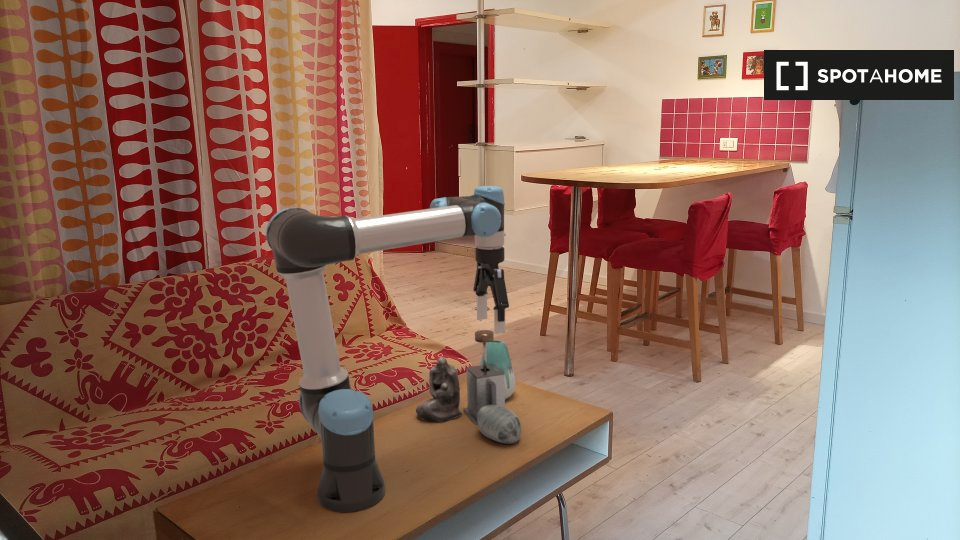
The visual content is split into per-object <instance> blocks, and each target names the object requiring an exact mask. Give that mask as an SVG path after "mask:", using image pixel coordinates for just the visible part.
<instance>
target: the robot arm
mask: <svg viewBox="0 0 960 540" xmlns="http://www.w3.org/2000/svg"><path fill="white" fill-rule="evenodd" d="M504 193H505V192H504V190H503V188H502V187H500V186H498V185H480V186H476V187H475V188H474V191H473V194H472V195H466V196H448V197H446V196H444V197H440V198H434V199H433V200H432V201H431V203H430V205H429V208H425V209H419V210H412V211H411V210H410V211H404V212H397V213H390V214H383V215H375V216H369V217H360V218H351V217H350V216H349V215H341V216H340V215H339V216H323V215H318V214H315V213H313V212H311V211H309V210H308V209H305V208H302V207H287V208H284V209H281V210H279V211H277V212H276V213H275V214H274V215H273V216H272V217H271V218H270V220H269V221H268V223H267V226H266V229H265V238H266V242H267V244H268V247H270V249H271V251H272V253H273V258H274V264H275V269H276V273H277V274H278V275H280V276H281V277H283V278H284V279H285V283H286V288H287V293H288V298H289V302H290V303H289V304H290V310H291V314H292V319H293V324H294V329H295V334H296V340H297V345H298V346H297V347H298V350H299V355H300V361H301V365H302V371H303V375H302V377H300V378H299V381H298V386H299V391H300V393H299V399H298V403H299V404H298V405H299V408H300V409H299V410H300V411H301V415H302V416H303V418H304V419H305V420H306V422H308V423H309V425H310V426H311V427H312V428H313V429H314V431H315V433H317V435H318V437H319V438H320V443H321V453H322V462H323V463H322V464H323V468H322V470H321V475H320V479H319V482H318V486H317V501H318V503H319V504H320V506H321V507H323V508H325V509H327V510H329V511H331V512H340V513H350V512H358V511H362V510H366V509H368V508H371V507H372V506H375V505H376V504H378V503H379V502H380V501H381V500H382V499H384V496H385V494H386V482H385V479H384V476H383V475H382V472H381V470H380V468H379V464H378V462H377V461H376V460H377V459H376V446H375V430H374V429H375V426H374V410H373V405H372V402H371V399H370V398H369V396H368V395H367V394H365V393H364V392H362V391H361V390H354V389H352V387H351V381H350V377H349V372H348V370H346V369H345V368H343V367H342V366H341V363H340V362H341V361H340V356H339V351H338V346H337V340H336V335H335V334H336V333H335V329H334V323H333V319H332V318H333V317H332V313H331V306H330V301H329V296H328V292H327V284H326V278H325V274H324V272H325V270H326V268H328V266H329V265H333V264H338V263H343V262H344V263H345V262H349V261H354V260H355V259H356V258H357V257H358V255H362V254H369V253H373V252H380V251H385V250H386V251H387V250H390V249H396V248H397V249H398V248H405V247H409V246H414V245H422V244H428V243H435V242H440V241H446V240H452V239H459V238H466V237H472V236H474V245H475V246H476V248H475V249H474V250H475V251H474V252H475V253H474V255H475V256H474V257H475V258H474V259H475V262H476V271H475V277H474V284H473V292H475V295H476V319H477V320H478V321H480V320H481V321H482V320H483V321H484V320H488V296H487V295H488V288H489V287H490V290H491V294H492V298H493V303H494V306H493V307H492V310H493V318H494V319H493V321H494V322H493V324H494V326H493V327H494V331H493V333H494V335H497V334H499V335H501V334H505V333H506V309H509V308H510V303H509V299H508V292H507V285H506V280H505V270H504V268H501V269H500V267H499V265H500V263H503V262H504V261H505V248H504V246H505V237H506V235H507V234H506V232H505V205H506V204H505V195H504Z"/></svg>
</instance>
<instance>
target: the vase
mask: <svg viewBox="0 0 960 540" xmlns="http://www.w3.org/2000/svg"><path fill="white" fill-rule="evenodd" d="M486 354H487V364H492V363H494V364H495V365H496V366H497V367H498V368H499V369H501V370H502V371H503V372H504V383H505V400H507V399H509V398H510V397H511V396H512V395H513V393H514V391H515V389H516V376H515V371H514V370H515V369H514V367H513V363H512V360H511V357H510V353H509V349H508V346H507V344H506V343H505V341H503V340H500V339H494V340H493V341H491V342H487V343H486ZM479 365H483V353H482V355H481V359H480V363H479Z"/></svg>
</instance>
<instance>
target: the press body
mask: <svg viewBox="0 0 960 540" xmlns="http://www.w3.org/2000/svg"><path fill="white" fill-rule="evenodd" d="M482 371H483V365H480V364H479V365H474V366H466V394H467V396H466V397H467V400H466V401H467V407H463V412H464V413H465V415H467V417H468V418H469V419H470V420H471V421H472V422H473V423H474V424H475V425H476V426H478V423H477V416H478V412H479V410H480V409H481V408H482V407H484V406H487V405H497V406H502V407H504V408H506V399H505V383H504V372H503V371H502V370H501V369H499V368H498V367H497V366H496V365H495V364H494V363H492V364H487V371H486V372H482Z"/></svg>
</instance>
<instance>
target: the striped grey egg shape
mask: <svg viewBox="0 0 960 540" xmlns="http://www.w3.org/2000/svg"><path fill="white" fill-rule="evenodd" d="M477 423H478V425H477V427H478V430H479V432H480V433H481V434H482V435H483V436H485V437H486V438H488V439H490V440H492V441H496V442H497V443H498V442H499V443H501V444H506V445H507V444H508V445H509V444H516V443H517V442H518V441H519V439H520V437H521V434H522V427H521V421H520V419H519V417H518V416H517V415H516V413H515V412H513V411H512V410H511V409H508V408H507V407H505V408H504V407H502V406H497V405H487V406H484V407H482V408H481V409H480V410H479V412H478V416H477Z"/></svg>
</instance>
